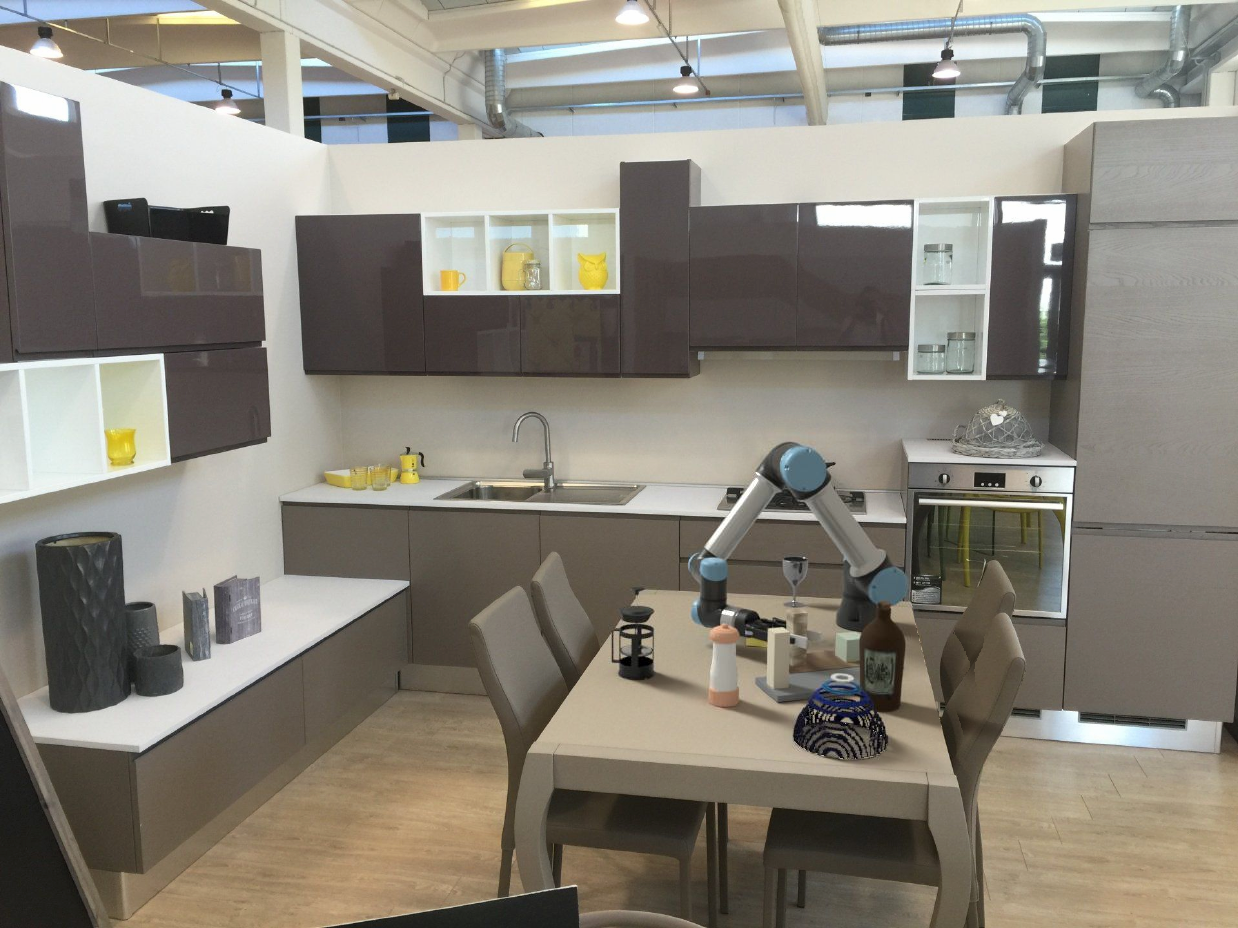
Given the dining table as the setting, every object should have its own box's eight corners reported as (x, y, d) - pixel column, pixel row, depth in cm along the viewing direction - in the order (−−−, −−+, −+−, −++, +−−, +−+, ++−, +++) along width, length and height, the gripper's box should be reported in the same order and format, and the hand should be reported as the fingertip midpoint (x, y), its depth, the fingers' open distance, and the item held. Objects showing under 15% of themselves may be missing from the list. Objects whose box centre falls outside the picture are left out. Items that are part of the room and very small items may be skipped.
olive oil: (860, 693, 247) (863, 594, 243) (904, 699, 243) (909, 598, 239) (854, 709, 237) (857, 606, 233) (900, 715, 233) (905, 610, 230)
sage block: (855, 652, 272) (855, 631, 271) (866, 660, 266) (867, 638, 265) (835, 654, 270) (835, 633, 269) (846, 662, 264) (846, 640, 263)
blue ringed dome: (802, 716, 233) (804, 657, 231) (891, 729, 225) (894, 668, 223) (784, 751, 214) (786, 686, 212) (880, 766, 207) (883, 699, 205)
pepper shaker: (702, 698, 244) (704, 621, 241) (729, 693, 246) (730, 618, 244) (717, 708, 237) (718, 630, 234) (744, 704, 240) (746, 626, 237)
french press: (658, 668, 264) (659, 583, 261) (655, 680, 255) (656, 592, 252) (614, 666, 266) (614, 581, 262) (609, 678, 256) (609, 591, 253)
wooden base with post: (874, 651, 277) (876, 596, 275) (900, 667, 265) (902, 610, 263) (774, 661, 269) (775, 605, 267) (796, 678, 257) (797, 619, 254)
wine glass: (805, 601, 327) (807, 556, 325) (807, 608, 319) (809, 562, 317) (780, 600, 328) (782, 555, 326) (782, 607, 320) (783, 561, 318)
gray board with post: (862, 671, 261) (864, 614, 259) (888, 689, 249) (891, 628, 247) (755, 683, 253) (756, 623, 251) (777, 701, 241) (779, 639, 238)
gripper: (761, 627, 282) (832, 646, 266) (719, 642, 269) (792, 663, 253) (761, 601, 281) (833, 618, 265) (720, 615, 268) (793, 634, 252)
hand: (813, 640), depth 259 cm, fingers closed on wooden base with post, 5 cm apart
